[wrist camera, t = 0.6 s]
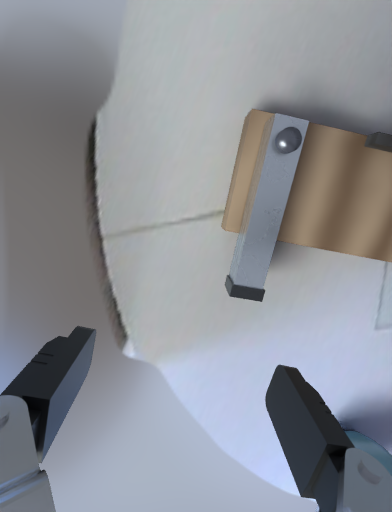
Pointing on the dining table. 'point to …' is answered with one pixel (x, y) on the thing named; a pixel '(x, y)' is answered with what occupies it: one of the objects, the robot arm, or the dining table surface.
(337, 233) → the wooden board with bar
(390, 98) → the dining table surface
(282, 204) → the hinged leg
